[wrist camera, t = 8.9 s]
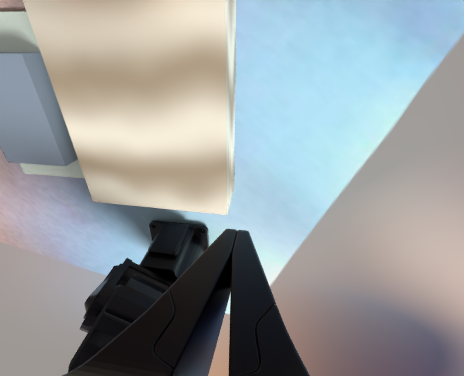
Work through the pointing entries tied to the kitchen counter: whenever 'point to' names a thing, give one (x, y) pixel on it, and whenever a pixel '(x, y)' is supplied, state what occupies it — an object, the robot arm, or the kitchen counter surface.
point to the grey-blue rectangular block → (31, 113)
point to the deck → (146, 96)
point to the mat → (23, 40)
